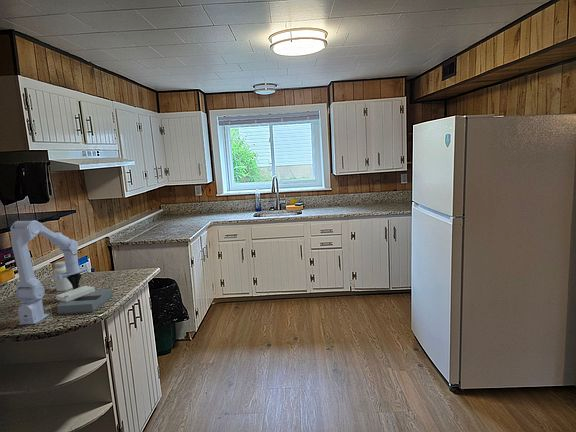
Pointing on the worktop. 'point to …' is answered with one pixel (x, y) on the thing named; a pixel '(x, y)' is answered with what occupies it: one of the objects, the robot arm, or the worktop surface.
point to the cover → (75, 293)
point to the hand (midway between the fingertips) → (75, 288)
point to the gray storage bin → (86, 302)
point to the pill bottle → (63, 283)
